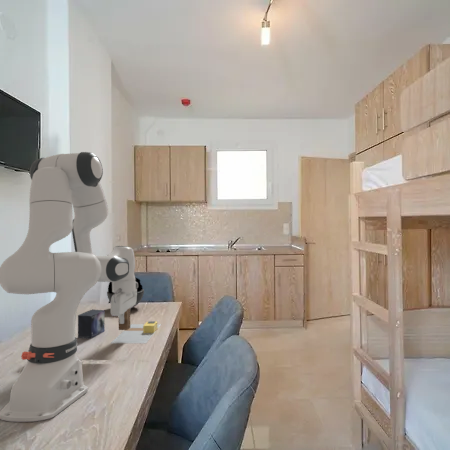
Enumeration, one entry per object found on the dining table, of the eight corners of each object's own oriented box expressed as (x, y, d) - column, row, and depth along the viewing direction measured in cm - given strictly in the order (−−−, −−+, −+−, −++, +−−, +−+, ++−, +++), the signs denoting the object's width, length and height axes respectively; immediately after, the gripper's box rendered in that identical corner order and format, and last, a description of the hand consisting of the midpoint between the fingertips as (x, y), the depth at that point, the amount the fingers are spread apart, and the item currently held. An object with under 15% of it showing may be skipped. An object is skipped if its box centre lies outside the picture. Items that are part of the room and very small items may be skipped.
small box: (91, 341, 141) (91, 315, 141) (77, 341, 143) (76, 315, 143) (105, 333, 152) (105, 309, 152) (91, 333, 153) (91, 309, 153)
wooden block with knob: (127, 329, 137) (127, 305, 137) (118, 329, 138) (118, 305, 138) (130, 327, 141) (130, 303, 141) (121, 327, 141) (121, 303, 141)
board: (146, 346, 135) (146, 343, 135) (110, 346, 136) (110, 343, 136) (161, 326, 161) (161, 324, 161) (131, 326, 162) (131, 324, 162)
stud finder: (154, 332, 148) (153, 325, 148) (143, 332, 148) (143, 325, 148) (157, 328, 155) (157, 320, 155) (147, 328, 155) (147, 320, 155)
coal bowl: (151, 307, 200) (151, 274, 200) (124, 314, 184) (124, 278, 184) (127, 303, 211) (126, 272, 211) (99, 310, 194) (99, 276, 194)
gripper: (122, 291, 129) (123, 329, 129) (139, 282, 149) (139, 315, 149) (105, 291, 129) (106, 329, 129) (124, 282, 150) (125, 315, 149)
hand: (124, 321), depth 139 cm, fingers closed on wooden block with knob, 3 cm apart
